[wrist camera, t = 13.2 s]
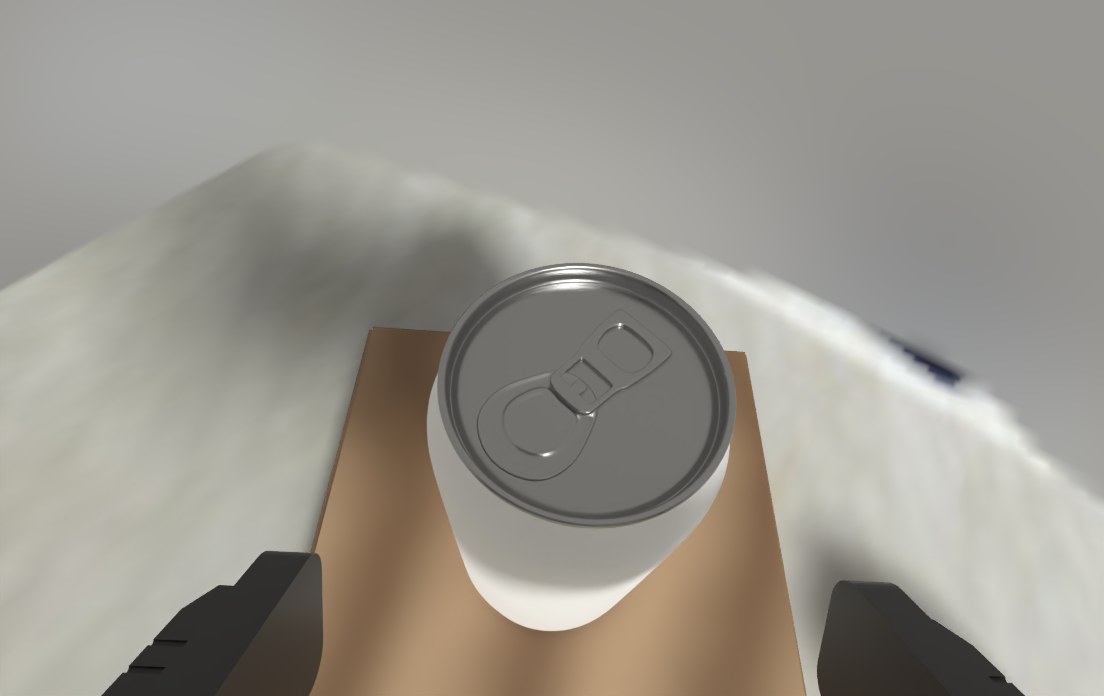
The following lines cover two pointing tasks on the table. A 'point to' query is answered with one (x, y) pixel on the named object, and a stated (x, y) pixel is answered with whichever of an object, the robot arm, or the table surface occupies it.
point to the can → (576, 437)
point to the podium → (485, 634)
